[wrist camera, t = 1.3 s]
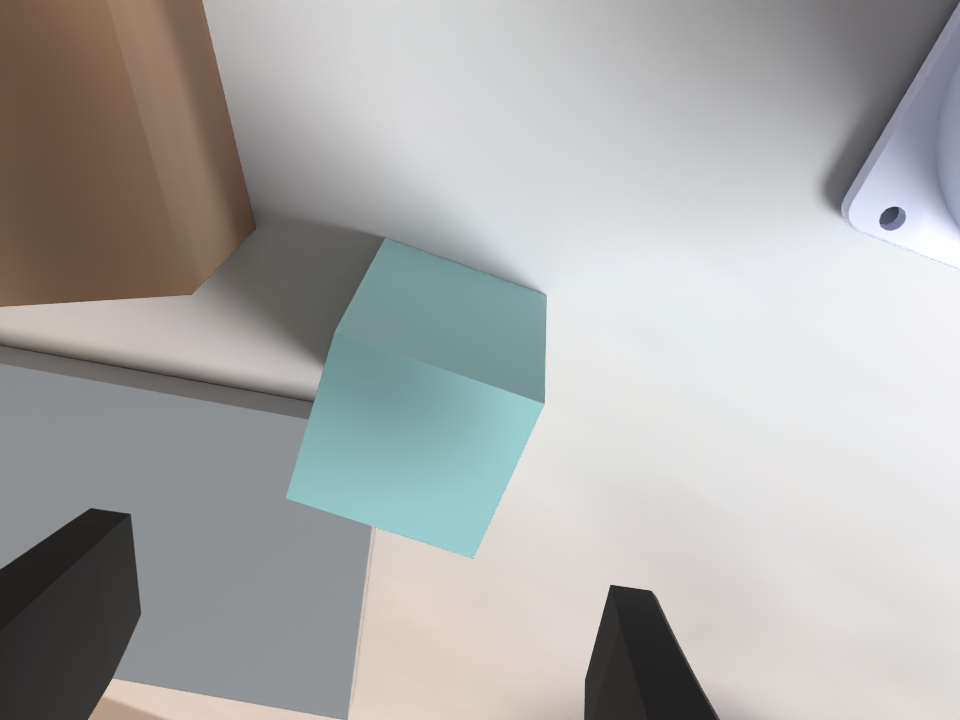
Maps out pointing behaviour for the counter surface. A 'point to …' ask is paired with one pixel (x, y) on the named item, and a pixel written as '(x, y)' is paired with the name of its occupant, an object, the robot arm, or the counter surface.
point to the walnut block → (113, 152)
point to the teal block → (425, 400)
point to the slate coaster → (192, 525)
